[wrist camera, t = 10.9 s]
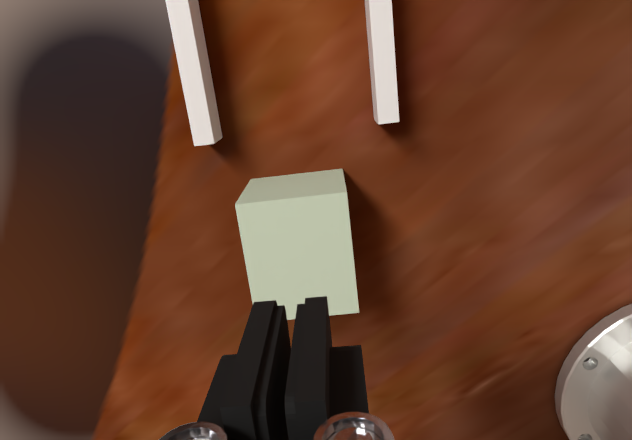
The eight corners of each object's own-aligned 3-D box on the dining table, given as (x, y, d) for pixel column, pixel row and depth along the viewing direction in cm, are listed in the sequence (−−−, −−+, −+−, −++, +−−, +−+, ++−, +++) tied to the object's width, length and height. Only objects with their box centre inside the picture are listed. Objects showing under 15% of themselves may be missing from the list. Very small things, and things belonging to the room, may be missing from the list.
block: (353, 269, 28) (359, 312, 23) (267, 278, 28) (256, 322, 23) (342, 168, 26) (346, 192, 21) (250, 178, 26) (234, 204, 21)
